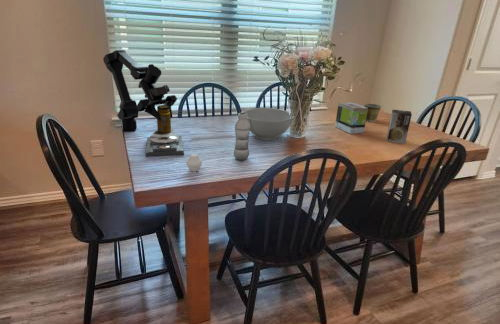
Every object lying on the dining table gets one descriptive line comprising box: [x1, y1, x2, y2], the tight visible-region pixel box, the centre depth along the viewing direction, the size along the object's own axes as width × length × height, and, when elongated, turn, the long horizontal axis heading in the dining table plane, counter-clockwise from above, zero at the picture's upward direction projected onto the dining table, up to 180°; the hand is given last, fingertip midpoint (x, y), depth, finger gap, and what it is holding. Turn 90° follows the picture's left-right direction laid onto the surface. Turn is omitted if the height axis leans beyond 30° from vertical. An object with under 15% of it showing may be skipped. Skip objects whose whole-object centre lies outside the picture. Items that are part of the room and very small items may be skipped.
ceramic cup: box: [363, 103, 382, 123], centre depth 208 cm, size 13×10×10 cm
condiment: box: [152, 104, 175, 136], centre depth 147 cm, size 7×8×12 cm
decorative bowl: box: [241, 107, 295, 141], centre depth 168 cm, size 27×27×12 cm
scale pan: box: [149, 132, 180, 144], centre depth 150 cm, size 13×13×1 cm
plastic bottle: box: [233, 112, 251, 161], centre depth 137 cm, size 6×7×20 cm
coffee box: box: [386, 109, 413, 145], centre depth 169 cm, size 9×6×16 cm
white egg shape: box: [185, 153, 203, 173], centre depth 126 cm, size 6×6×7 cm
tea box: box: [334, 101, 368, 135], centre depth 185 cm, size 15×10×15 cm, turn 20°
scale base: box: [145, 135, 185, 158], centre depth 148 cm, size 16×20×3 cm
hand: (166, 118), depth 146 cm, fingers closed on condiment, 6 cm apart
